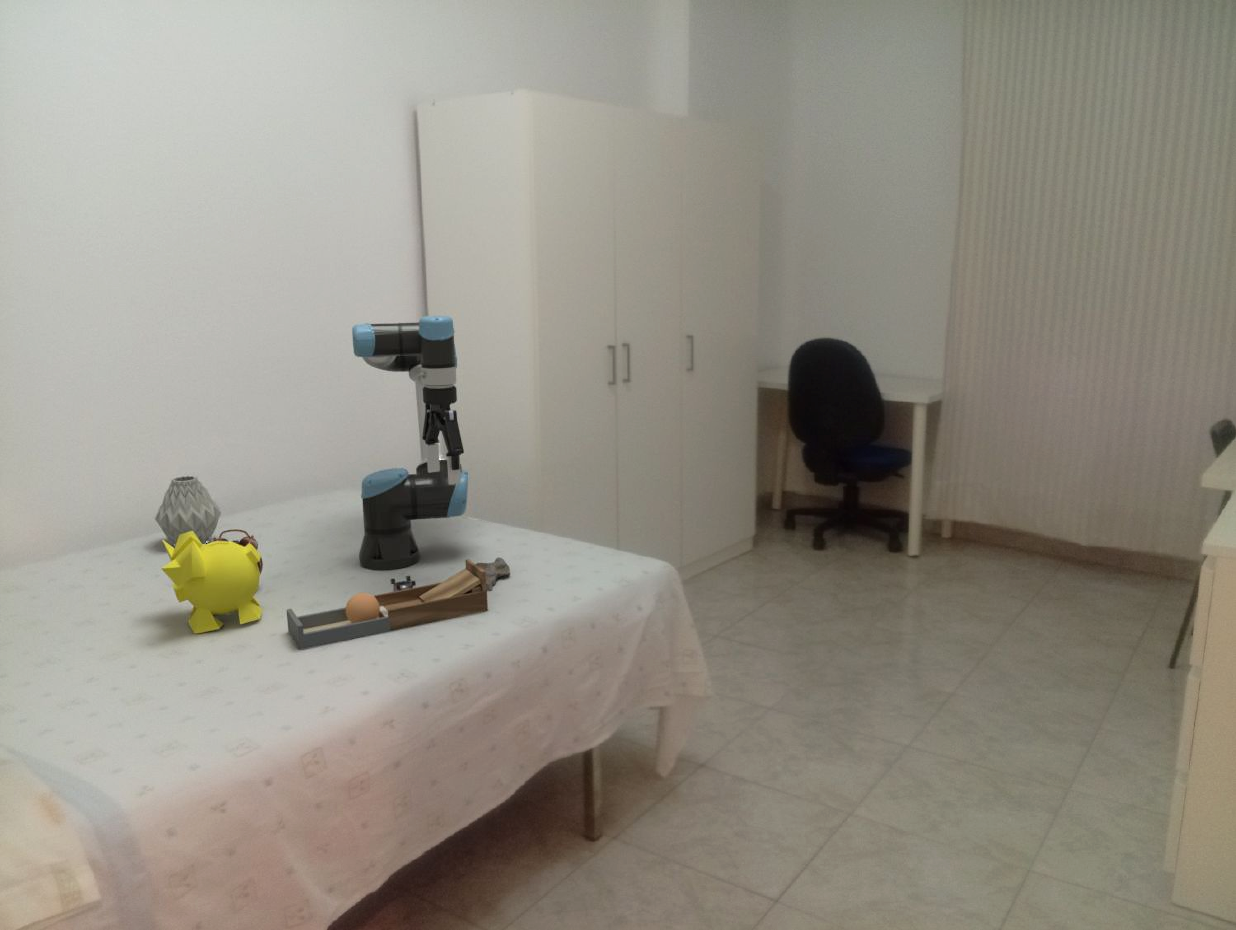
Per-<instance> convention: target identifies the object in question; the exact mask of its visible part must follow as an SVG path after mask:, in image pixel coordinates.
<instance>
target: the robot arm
mask: <svg viewBox="0 0 1236 930" xmlns="http://www.w3.org/2000/svg"><path fill="white" fill-rule="evenodd" d="M351 333H352V335H351V336H352V346H353V347H352V348H353V353H354V355H355V357H356V358H357V357H358V358H362V359H363V361H364V362H365V363H366V364H367V365H369V366H371V367H372V368H375V369H378V370H383V371H387V372H393V373H395V372H396V373H399V372H401V373H403V372H404V373H405V372H408V377H409V379H410V380H411V381H412V382H414V383H415V394H416V396H415V397H416V407H417V420H418V421H417V422H418V423H417V424H418V433H419V446H420V447H419V448H420V459H421V462H420V463H419V464H417V466H416V468H415V473H414V474H413V473H411V474H409V471H408V469H407V468H403V467H399V468H398V467H395V468H394V467H392V468H386V469H381V470H378V471H375V472H372V473H370V474H368V475H366V476H365V477H363V478H362V481H361V494H360V497H361V499H362V515H363V516H362V517H363V518H362V519H363V529H364V533H363V534H364V535H363V538H362V541H361V545H360V550H359V555H358V560H359V565H360V566H361V567H363V568H366V569H369V570H370V569H371V570H396V569H401V568H406V567H410V566H411V565H412V566H413V565H415V564H416V563H418V562H419V561H420V559H421V556H420V555H421V554H420V553H421V552H420V547H419V545H418V543H417V540H416V538H415V536H414V533H413V531H412V521H415V520H416V521H417V520H428V519H430V520H431V519H444V518H446V519H449V518H455V517H460V516H463V515H464V514H465V513H466V511H467V503H468V486H469V472H468V470H464V469H462V468H463V467H462V464H461V455H462V454H464V453H465V450H464V445H463V441H462V437H461V432H460V426H459V423H458V422H459V421H458V413H457V410H456V409H455V410H451V405H453V404H455V403H457V400H458V396H457V395H458V394H457V390H458V389H457V387H456V385H455V384H456V383H457V368H458V356H457V353H456V352H457V351H456V345H455V328H454V321H453V318H452V317H451V316H449V315H448V316H447V315H427V316H422V317H420V318H419V321H418V322H398V323H395V322H394V323H369V322H367V323H361V324H354V325H353V327H352V329H351Z"/></svg>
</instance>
